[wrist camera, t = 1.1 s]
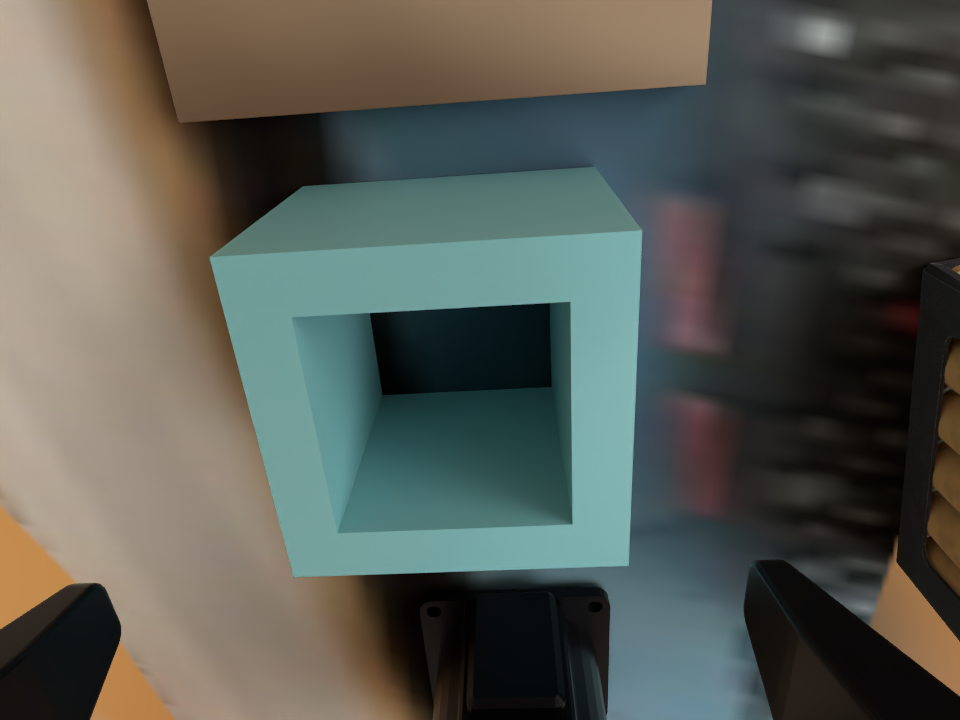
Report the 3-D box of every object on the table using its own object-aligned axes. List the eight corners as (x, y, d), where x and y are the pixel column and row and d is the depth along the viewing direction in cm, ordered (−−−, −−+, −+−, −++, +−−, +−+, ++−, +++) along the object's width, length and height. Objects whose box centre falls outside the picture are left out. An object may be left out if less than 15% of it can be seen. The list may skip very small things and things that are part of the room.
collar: (592, 420, 19) (628, 565, 14) (348, 431, 20) (293, 577, 14) (594, 166, 16) (642, 230, 11) (303, 186, 17) (209, 256, 11)
